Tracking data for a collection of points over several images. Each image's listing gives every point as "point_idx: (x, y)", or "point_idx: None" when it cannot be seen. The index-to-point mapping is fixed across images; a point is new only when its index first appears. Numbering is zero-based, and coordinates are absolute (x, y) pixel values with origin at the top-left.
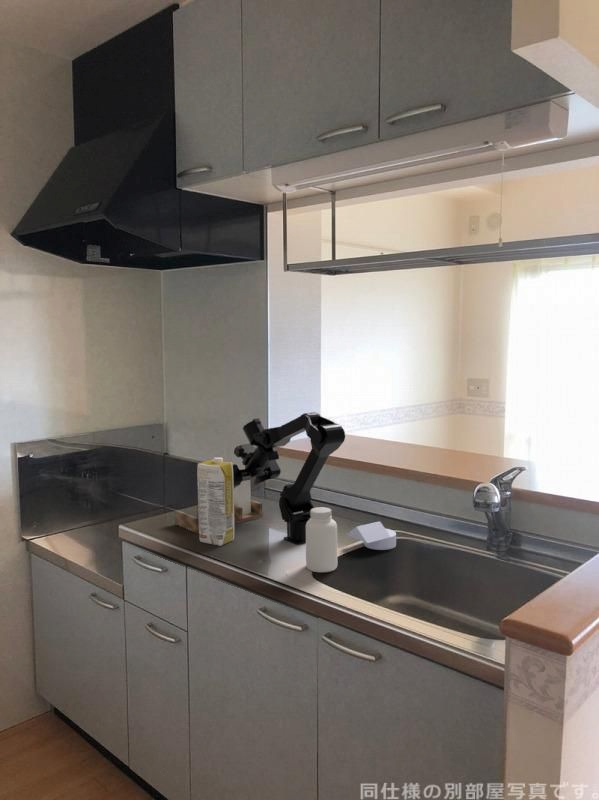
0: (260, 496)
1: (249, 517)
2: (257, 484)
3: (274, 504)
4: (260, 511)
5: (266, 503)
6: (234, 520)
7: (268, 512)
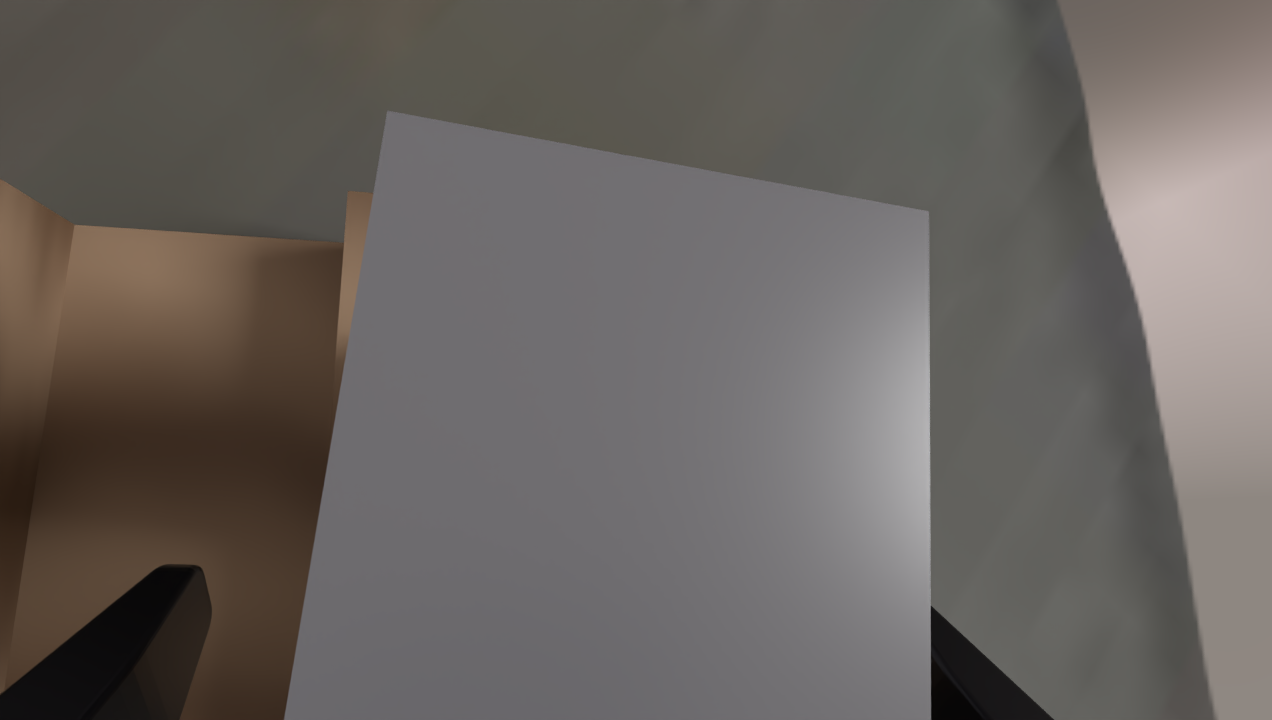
0: (1060, 85)
1: None
2: None
3: (1024, 383)
4: None
5: (986, 301)
6: (257, 717)
7: None
